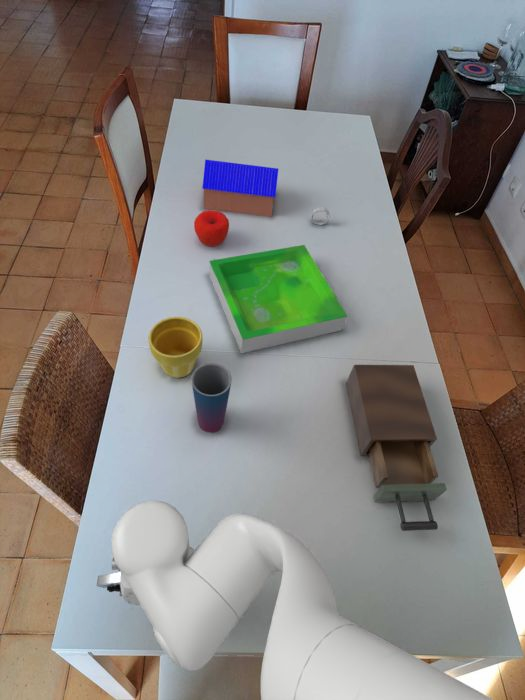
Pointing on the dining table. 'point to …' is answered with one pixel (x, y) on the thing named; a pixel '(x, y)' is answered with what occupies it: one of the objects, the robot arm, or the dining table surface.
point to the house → (239, 187)
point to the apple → (211, 227)
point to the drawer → (406, 477)
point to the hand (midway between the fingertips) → (167, 588)
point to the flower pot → (176, 345)
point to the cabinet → (388, 405)
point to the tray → (275, 298)
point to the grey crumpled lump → (318, 211)
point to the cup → (211, 395)
